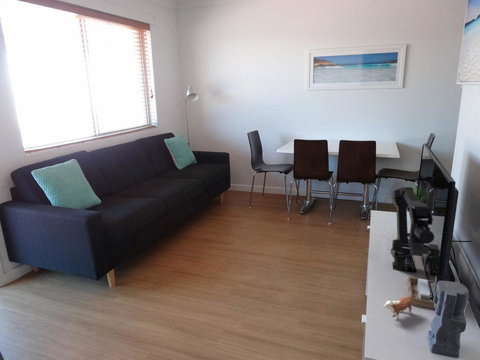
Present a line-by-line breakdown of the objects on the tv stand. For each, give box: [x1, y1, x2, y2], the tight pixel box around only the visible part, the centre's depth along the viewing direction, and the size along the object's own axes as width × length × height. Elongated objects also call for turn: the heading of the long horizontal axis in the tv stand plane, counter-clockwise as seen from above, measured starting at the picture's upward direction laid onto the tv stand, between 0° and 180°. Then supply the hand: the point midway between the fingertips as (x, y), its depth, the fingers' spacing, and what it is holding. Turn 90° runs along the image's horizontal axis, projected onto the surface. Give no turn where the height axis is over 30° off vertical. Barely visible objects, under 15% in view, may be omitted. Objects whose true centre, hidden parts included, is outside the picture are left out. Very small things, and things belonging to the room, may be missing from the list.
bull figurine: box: [383, 295, 413, 321], centre depth 141 cm, size 4×13×8 cm, turn 111°
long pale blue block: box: [417, 278, 431, 301], centre depth 153 cm, size 13×4×4 cm, turn 159°
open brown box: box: [407, 276, 435, 310], centre depth 154 cm, size 17×11×3 cm, turn 159°
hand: (413, 264), depth 158 cm, fingers open, 9 cm apart
